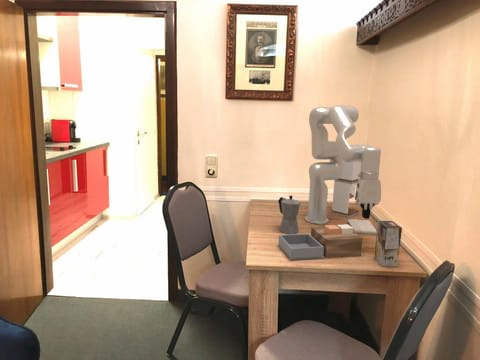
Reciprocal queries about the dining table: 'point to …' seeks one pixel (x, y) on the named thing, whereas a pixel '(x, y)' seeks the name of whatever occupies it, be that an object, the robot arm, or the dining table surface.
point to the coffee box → (387, 243)
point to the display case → (346, 189)
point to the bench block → (338, 243)
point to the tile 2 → (345, 229)
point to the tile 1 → (331, 229)
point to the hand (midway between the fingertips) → (365, 217)
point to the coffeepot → (289, 215)
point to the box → (300, 247)
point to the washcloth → (362, 226)
